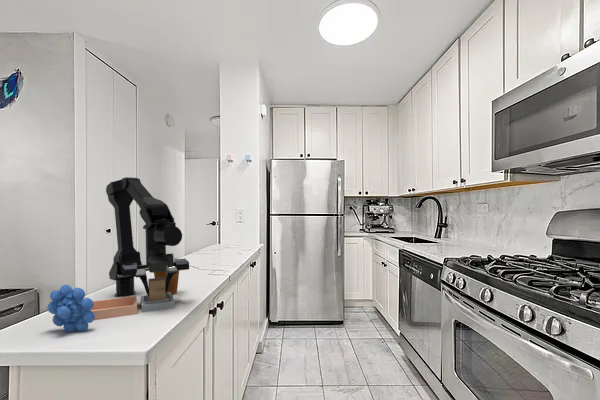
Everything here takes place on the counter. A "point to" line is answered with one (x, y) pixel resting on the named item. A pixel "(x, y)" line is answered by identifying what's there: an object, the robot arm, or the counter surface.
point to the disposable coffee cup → (173, 283)
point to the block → (157, 289)
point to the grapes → (71, 308)
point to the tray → (157, 303)
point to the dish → (114, 307)
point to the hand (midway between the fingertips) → (157, 294)
